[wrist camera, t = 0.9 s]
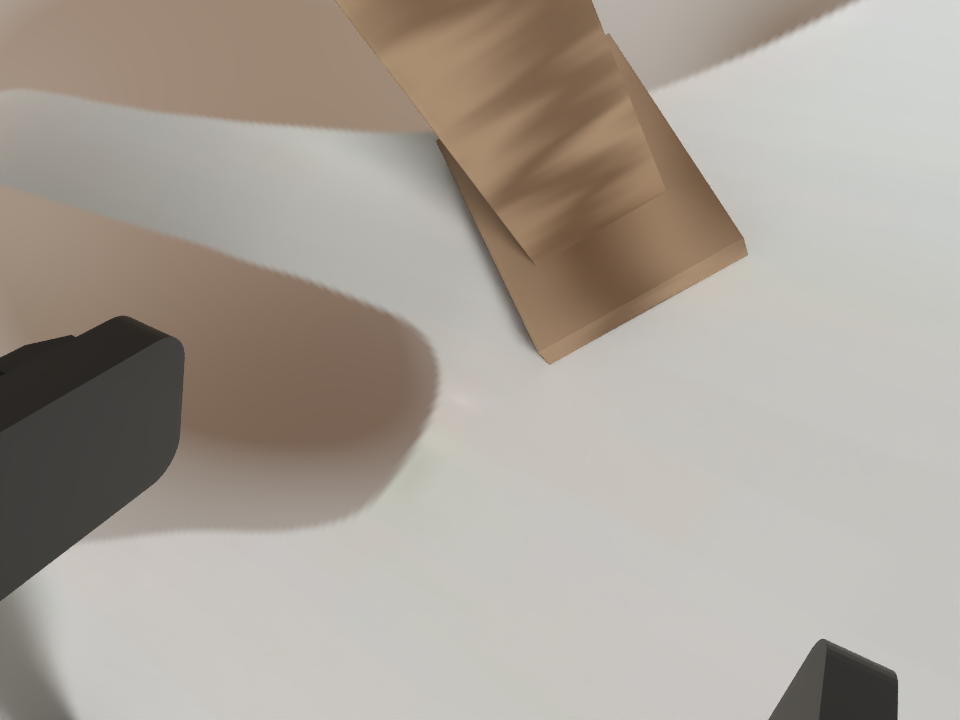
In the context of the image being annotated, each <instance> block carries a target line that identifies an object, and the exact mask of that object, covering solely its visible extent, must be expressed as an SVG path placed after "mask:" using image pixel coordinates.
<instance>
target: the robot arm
mask: <svg viewBox="0 0 960 720" xmlns="http://www.w3.org/2000/svg"><path fill="white" fill-rule="evenodd" d="M184 359H185V358H184V348H183V346H182V344H181V342H180V341H179V340H178V339H176V338H174V337H172V336H170V335H168V334H166V333H163V332H161V331H159V330H157V329H154V328H153V327H150V326H148V325H146V324H144V323H142V322H139V321H137V320H135V319H133V318H131V317H128V316H118V317H115V318H112V319H110V320H108V321H106V322H104V323H102V324H101V325H99V326H97V327H95V328H93V329H91V330H89V331H87V332H85V333H83V334H81V335H79V336H77V337H74V336H72V335H69V336H65V337H60V338H56V339H51V340H47V341H42V342H38V343H33V344H29V345H25V346H23V347H21V348H19V349H17V350H15V351H13V352H11V353H9V354H7V355H5V356H3V357H0V601H1V600H2V599H4V598H5V597H6V596H8V595H9V594H10V593H11V592H13V591H14V590H15V589H17V588H18V587H19V586H21V585H22V584H23V583H25V582H26V581H27V580H28V579H30V578H31V577H32V576H34V575H35V574H36V573H38V572H39V571H40V570H42V569H43V568H44V567H45V566H47V565H48V564H49V563H51V562H52V561H53V560H55V559H56V558H57V557H59V556H60V555H61V554H63V553H64V552H65V551H66V550H68V549H69V548H70V547H72V546H73V545H74V544H76V543H77V542H78V541H80V540H81V539H82V538H83V537H85V536H86V535H87V534H89V533H90V532H91V531H93V530H94V529H95V528H96V527H98V526H99V525H100V524H102V523H103V522H104V521H106V520H107V519H108V518H110V517H111V516H112V515H114V514H115V513H116V512H117V511H119V510H120V509H121V508H123V507H124V506H125V505H127V504H128V503H129V502H131V501H132V500H133V499H134V498H136V497H137V496H138V495H140V494H141V493H142V492H143V491H145V490H146V489H148V488H149V487H150V486H151V485H153V484H154V483H155V482H156V481H157V480H158V479H159V478H160V477H161V476H162V475H163V473H164V472H165V471H166V469H167V468H168V466H169V465H170V463H171V461H172V459H173V457H174V455H175V453H176V450H177V447H178V443H179V438H180V437H179V436H180V424H181V423H180V422H181V408H182V391H183V375H184ZM897 714H898V680H897V675H896V673H895V672H894V671H893V670H890V669H888V668H886V667H884V666H882V665H880V664H877V663H875V662H873V661H871V660H869V659H867V658H864V657H862V656H860V655H858V654H856V653H853V652H851V651H849V650H847V649H845V648H843V647H840V646H838V645H836V644H834V643H832V642H830V641H827V640H825V639H821V640H819V641H818V642H817V643H816V644H815V645H814V647H813V648H812V650H811V651H810V653H809V654H808V656H807V658H806V659H805V661H804V663H803V664H802V666H801V667H800V669H799V671H798V672H797V674H796V676H795V677H794V679H793V680H792V682H791V684H790V685H789V687H788V689H787V690H786V692H785V694H784V695H783V697H782V698H781V700H780V702H779V703H778V705H777V707H776V708H775V710H774V711H773V713H772V715H771V716H770V718H769V720H897Z"/></svg>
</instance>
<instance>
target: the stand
mask: <svg viewBox="0 0 960 720" xmlns="http://www.w3.org/2000/svg"><path fill="white" fill-rule="evenodd" d="M335 2H336V3H337V4H338V5H339V7H340V8H341V9H342V11H343V12H344V13H345V15H346V16H347V17H348V19H349V20H350V21H351V23H352V24H353V25H354V26H355V28H356V29H357V31H358V32H359V33H360V34H361V36H362V37H363V38H364V40H365V41H366V42H367V44H368V45H369V46H370V48H371V49H372V50H373V52H374V53H375V54H376V55H377V57H378V58H379V59H380V61H381V62H382V63H383V65H384V66H385V67H386V69H387V70H388V71H389V73H390V74H391V75H392V77H393V78H394V79H395V81H396V82H397V83H398V85H399V86H400V87H401V88H402V90H403V91H404V92H405V94H406V95H407V96H408V98H409V99H410V100H411V102H412V103H413V104H414V105H415V107H416V108H417V110H418V111H419V112H420V113H421V115H422V116H423V117H424V119H425V120H426V121H427V123H428V124H429V125H430V127H431V128H432V129H433V131H434V132H435V133H436V135H437V136H438V137H439V139H438V140H437V141H436V142H437V144H438V146H439V148H440V150H441V152H442V154H443V156H444V159H445V161H446V163H447V165H448V167H449V169H450V171H451V173H452V175H453V177H454V179H455V181H456V183H457V185H458V188H459V190H460V192H461V194H462V196H463V198H464V200H465V202H466V204H467V206H468V208H469V210H470V212H471V214H472V217H473V219H474V221H475V223H476V225H477V227H478V229H479V231H480V233H481V235H482V237H483V239H484V241H485V243H486V246H487V248H488V250H489V252H490V254H491V256H492V258H493V260H494V262H495V264H496V266H497V268H498V270H499V273H500V275H501V277H502V279H503V281H504V283H505V285H506V287H507V289H508V291H509V293H510V295H511V297H512V299H513V302H514V304H515V306H516V308H517V310H518V312H519V314H520V316H521V318H522V320H523V322H524V324H525V326H526V328H527V331H528V333H529V335H530V337H531V339H532V341H533V343H534V345H535V347H536V349H537V351H538V353H539V354H540V355H541V356H542V357H543V358H544V359H545V360H546V361H547V362H548V364H549V365H550V364H552V363H553V362H555V361H557V360H559V359H561V358H562V357H564V356H566V355H568V354H570V353H571V352H573V351H575V350H577V349H579V348H580V347H582V346H584V345H586V344H588V343H589V342H591V341H593V340H595V339H597V338H598V337H600V336H602V335H604V334H606V333H607V332H609V331H611V330H613V329H615V328H617V327H618V326H620V325H622V324H624V323H626V322H627V321H629V320H631V319H633V318H635V317H636V316H638V315H640V314H642V313H644V312H645V311H647V310H649V309H651V308H653V307H654V306H656V305H658V304H660V303H662V302H663V301H665V300H667V299H669V298H671V297H672V296H674V295H676V294H678V293H680V292H681V291H683V290H685V289H687V288H689V287H691V286H692V285H694V284H696V283H698V282H700V281H701V280H703V279H705V278H707V277H709V276H710V275H712V274H714V273H716V272H718V271H719V270H721V269H723V268H725V267H727V266H728V265H730V264H732V263H734V262H736V261H737V260H739V259H741V258H743V257H745V256H746V255H748V253H747V249H746V245H745V242H744V238H743V236H742V235H741V233H740V232H739V230H738V229H737V227H736V226H735V224H734V223H733V221H732V220H731V218H730V217H729V215H728V214H727V212H726V210H725V209H724V207H723V206H722V204H721V203H720V201H719V200H718V198H717V197H716V195H715V194H714V192H713V191H712V189H711V188H710V186H709V185H708V183H707V182H706V180H705V178H704V177H703V175H702V174H701V172H700V171H699V169H698V168H697V166H696V165H695V163H694V162H693V160H692V159H691V157H690V156H689V154H688V153H687V151H686V150H685V148H684V147H683V145H682V143H681V142H680V140H679V139H678V137H677V136H676V134H675V133H674V131H673V130H672V128H671V127H670V125H669V124H668V122H667V121H666V119H665V118H664V116H663V115H662V113H661V111H660V110H659V108H658V107H657V105H656V104H655V102H654V101H653V99H652V98H651V96H650V95H649V93H648V92H647V90H646V89H645V87H644V86H643V84H642V83H641V81H640V80H639V78H638V77H637V75H636V73H635V72H634V70H633V69H632V67H631V66H630V64H629V63H628V61H627V60H626V58H625V57H624V55H623V54H622V52H621V51H620V49H619V48H618V46H617V44H616V43H615V41H614V40H613V39H612V37H611V35H610V34H607V35H605V33H604V31H603V28H602V26H601V23H600V21H599V18H598V16H597V13H596V10H595V8H594V5H593V3H592V0H335Z"/></svg>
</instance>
